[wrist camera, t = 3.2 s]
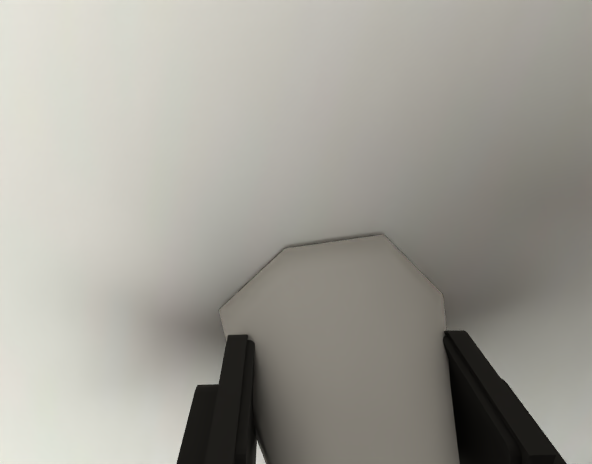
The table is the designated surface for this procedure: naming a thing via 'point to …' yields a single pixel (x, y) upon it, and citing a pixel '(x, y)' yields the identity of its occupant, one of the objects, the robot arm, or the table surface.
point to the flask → (347, 357)
